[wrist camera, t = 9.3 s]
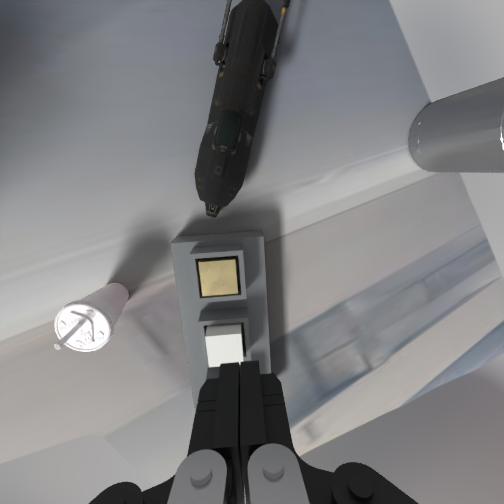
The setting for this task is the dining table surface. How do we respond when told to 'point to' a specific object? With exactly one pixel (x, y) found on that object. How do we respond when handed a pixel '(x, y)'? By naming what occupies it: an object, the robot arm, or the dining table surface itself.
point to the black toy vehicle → (236, 99)
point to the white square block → (224, 344)
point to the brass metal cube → (218, 275)
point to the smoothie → (91, 318)
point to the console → (222, 299)
